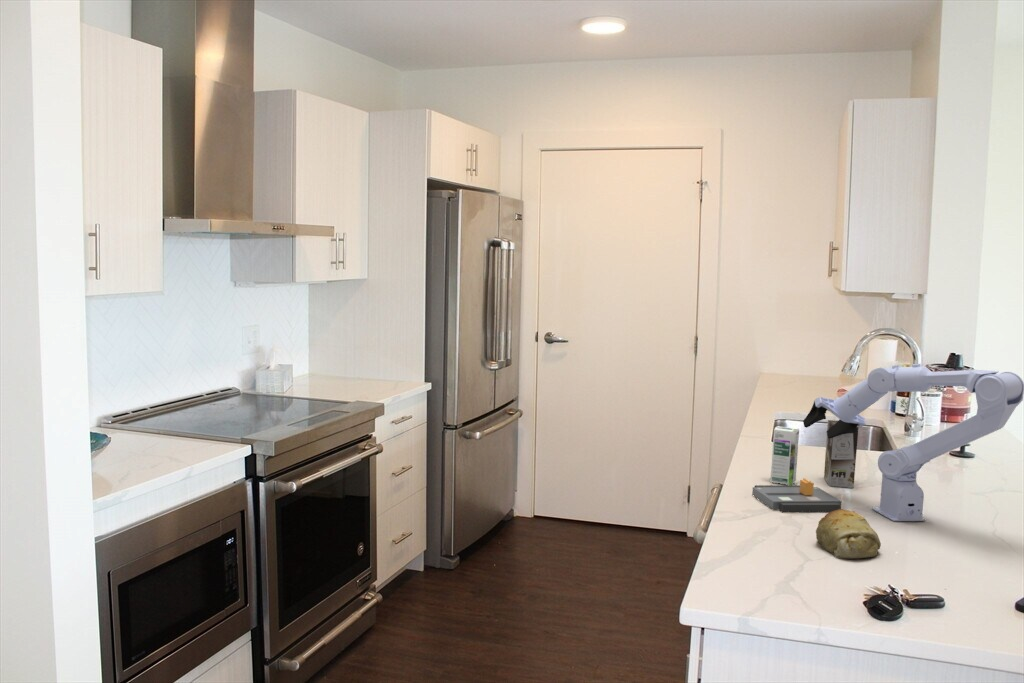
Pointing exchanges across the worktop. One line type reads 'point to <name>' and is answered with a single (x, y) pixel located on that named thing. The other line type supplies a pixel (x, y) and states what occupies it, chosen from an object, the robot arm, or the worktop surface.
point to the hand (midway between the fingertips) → (816, 429)
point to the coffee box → (840, 458)
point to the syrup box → (784, 455)
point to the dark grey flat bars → (804, 504)
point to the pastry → (847, 535)
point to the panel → (791, 496)
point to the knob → (806, 487)
